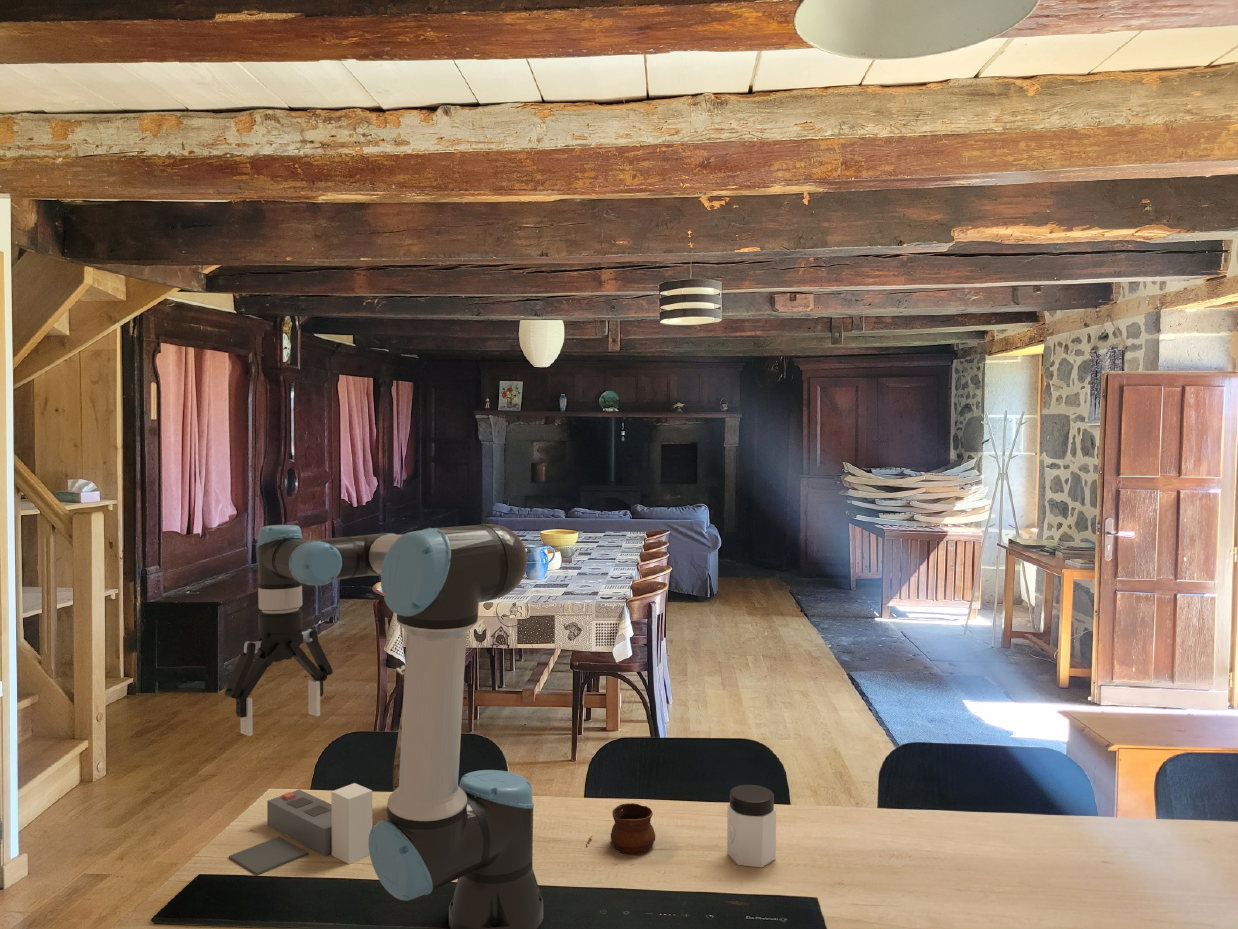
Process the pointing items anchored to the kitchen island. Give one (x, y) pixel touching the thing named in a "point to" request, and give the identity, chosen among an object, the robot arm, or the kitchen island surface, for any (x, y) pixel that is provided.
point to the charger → (351, 822)
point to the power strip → (302, 819)
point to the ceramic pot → (632, 829)
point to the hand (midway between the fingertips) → (281, 724)
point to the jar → (751, 826)
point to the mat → (268, 855)
